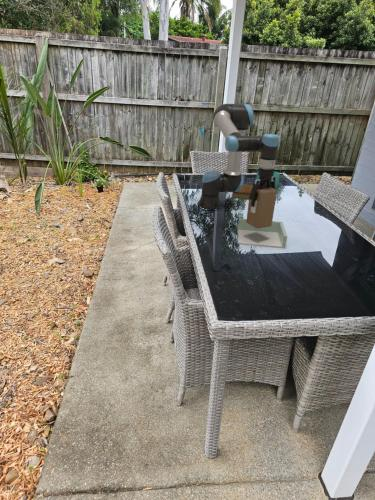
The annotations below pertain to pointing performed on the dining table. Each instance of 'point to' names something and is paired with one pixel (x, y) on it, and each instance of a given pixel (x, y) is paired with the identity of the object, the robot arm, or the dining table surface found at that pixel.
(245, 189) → the diary
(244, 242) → the corner tray
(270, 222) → the wooden block
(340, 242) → the dining table surface
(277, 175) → the basket
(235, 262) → the dining table surface
